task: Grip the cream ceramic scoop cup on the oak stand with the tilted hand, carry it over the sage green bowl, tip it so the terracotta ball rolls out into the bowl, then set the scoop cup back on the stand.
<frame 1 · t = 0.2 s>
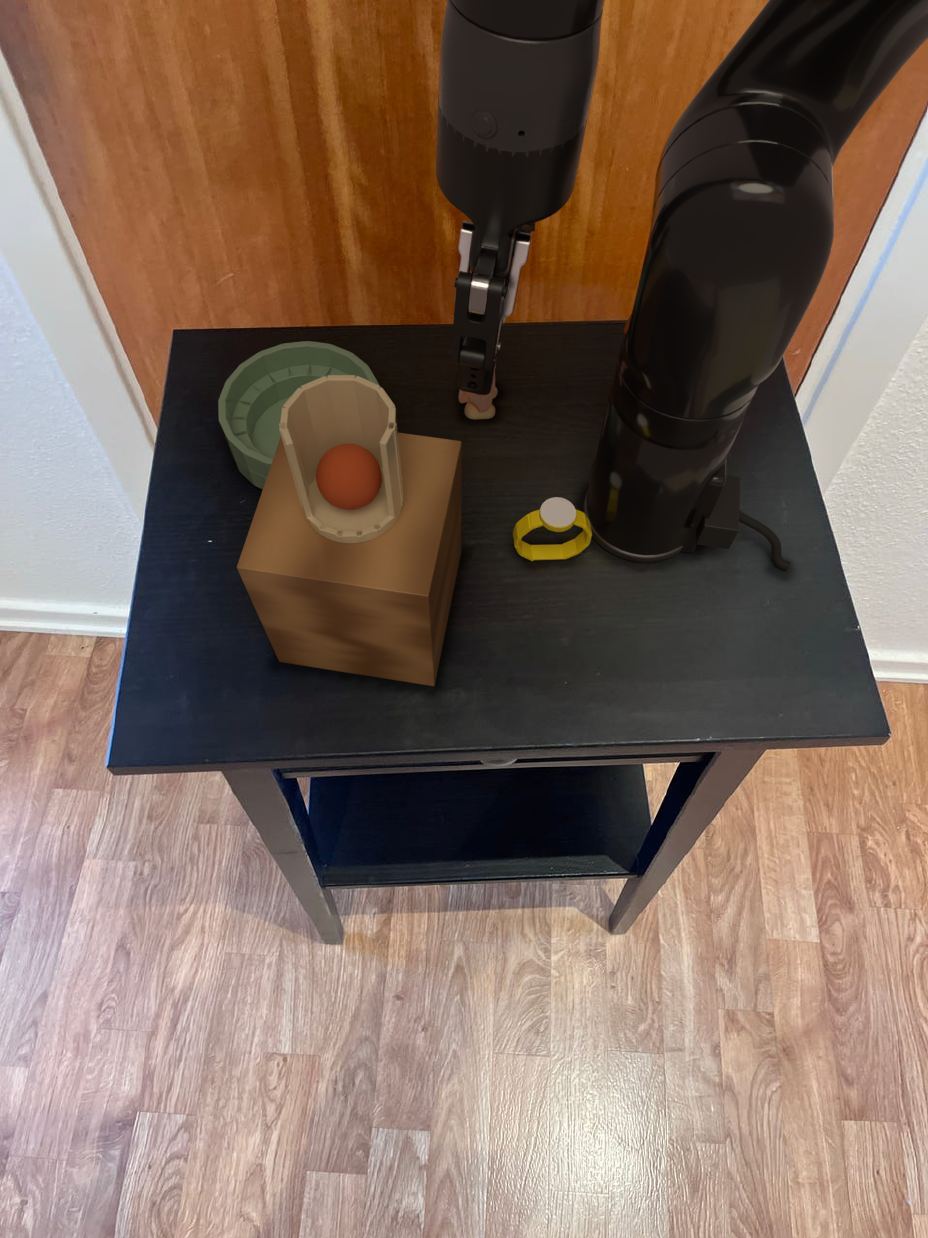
hand: (486, 341, 57), 17 cm above the table, tool pointing down, fingers open, 8 cm apart
ball: (349, 476, 53), point 17 cm above the table, touching cup
cup: (353, 501, 55), point 14 cm above the table, touching ball, stand
stand: (373, 605, 67), on the table
watch: (548, 555, 70), on the table
grandmother figurine: (479, 406, 77), on the table
bowl: (309, 440, 75), on the table
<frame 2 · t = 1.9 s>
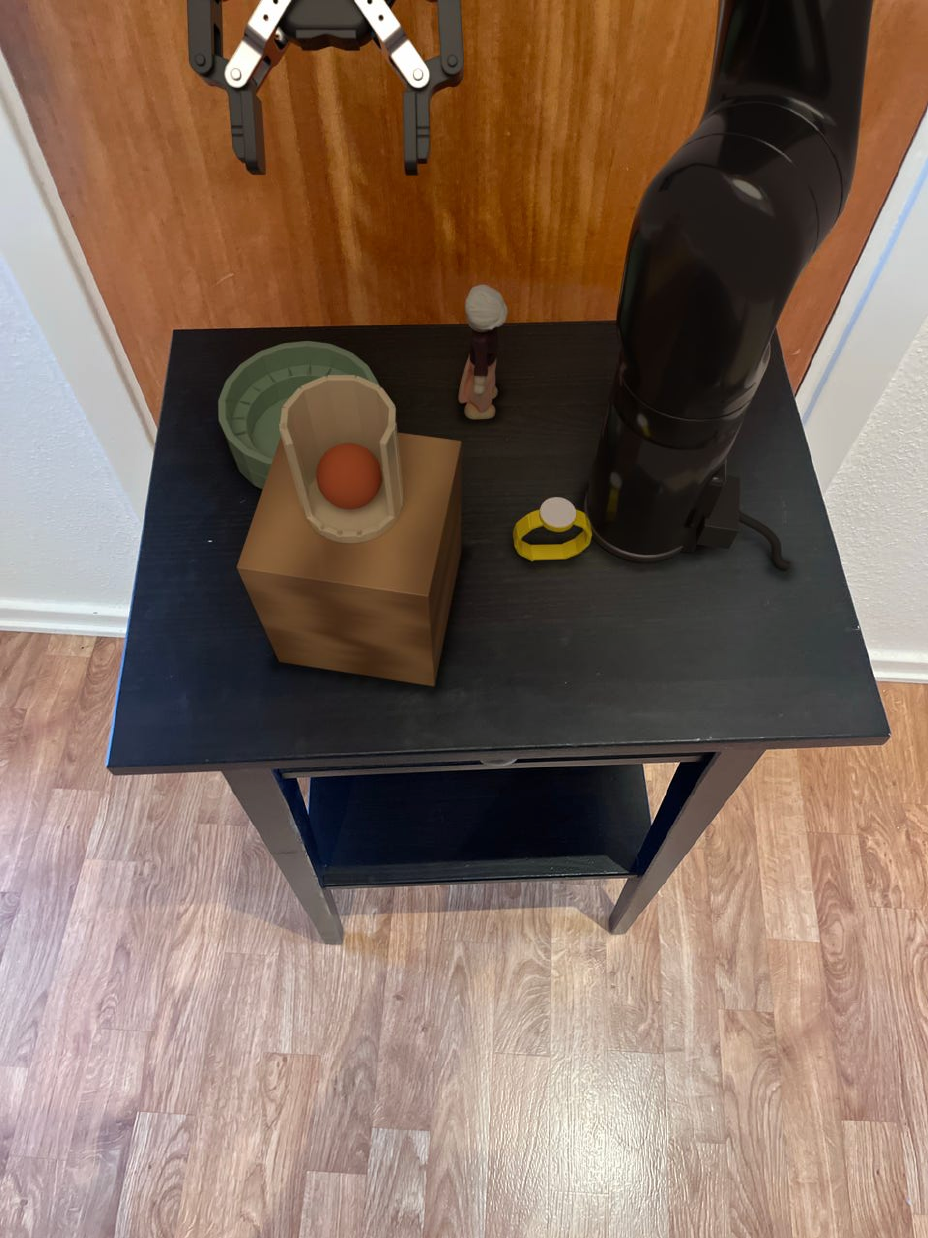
hand: (334, 173, 47), 29 cm above the table, tool tilted 45°, fingers open, 8 cm apart
nothing on the table moved.
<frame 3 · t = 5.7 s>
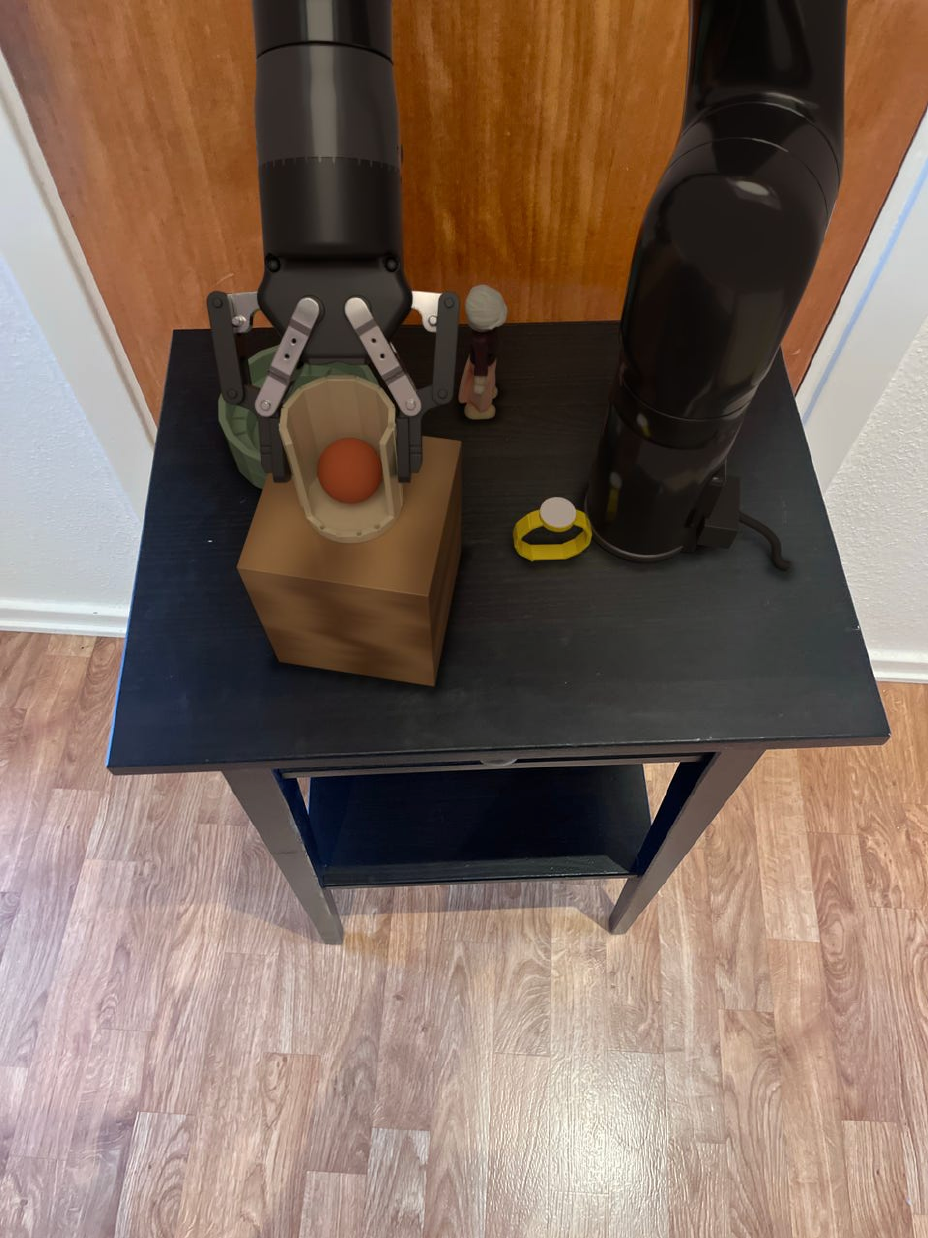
hand: (344, 480, 50), 18 cm above the table, tool tilted 45°, fingers closed on cup, 6 cm apart
ball: (350, 470, 53), point 17 cm above the table, tilted 13°, touching cup
cup: (353, 501, 55), point 14 cm above the table, touching ball, gripper, stand
everything else where it was.
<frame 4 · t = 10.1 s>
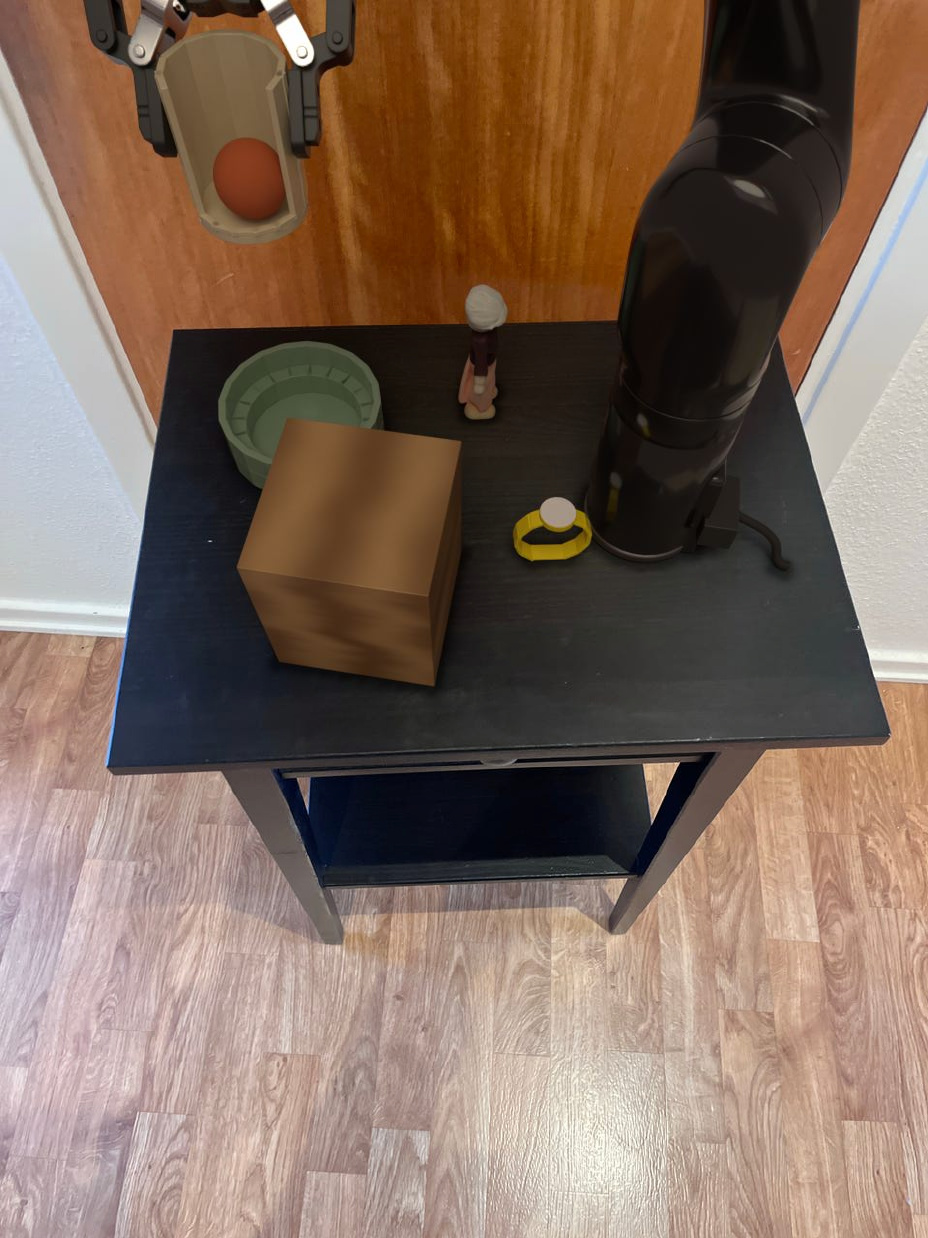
hand: (234, 154, 45), 30 cm above the table, tool tilted 45°, fingers closed on cup, 6 cm apart
ball: (250, 178, 47), point 28 cm above the table, tilted 30°, touching cup
cup: (254, 207, 50), point 26 cm above the table, touching ball, gripper
everything else where it was.
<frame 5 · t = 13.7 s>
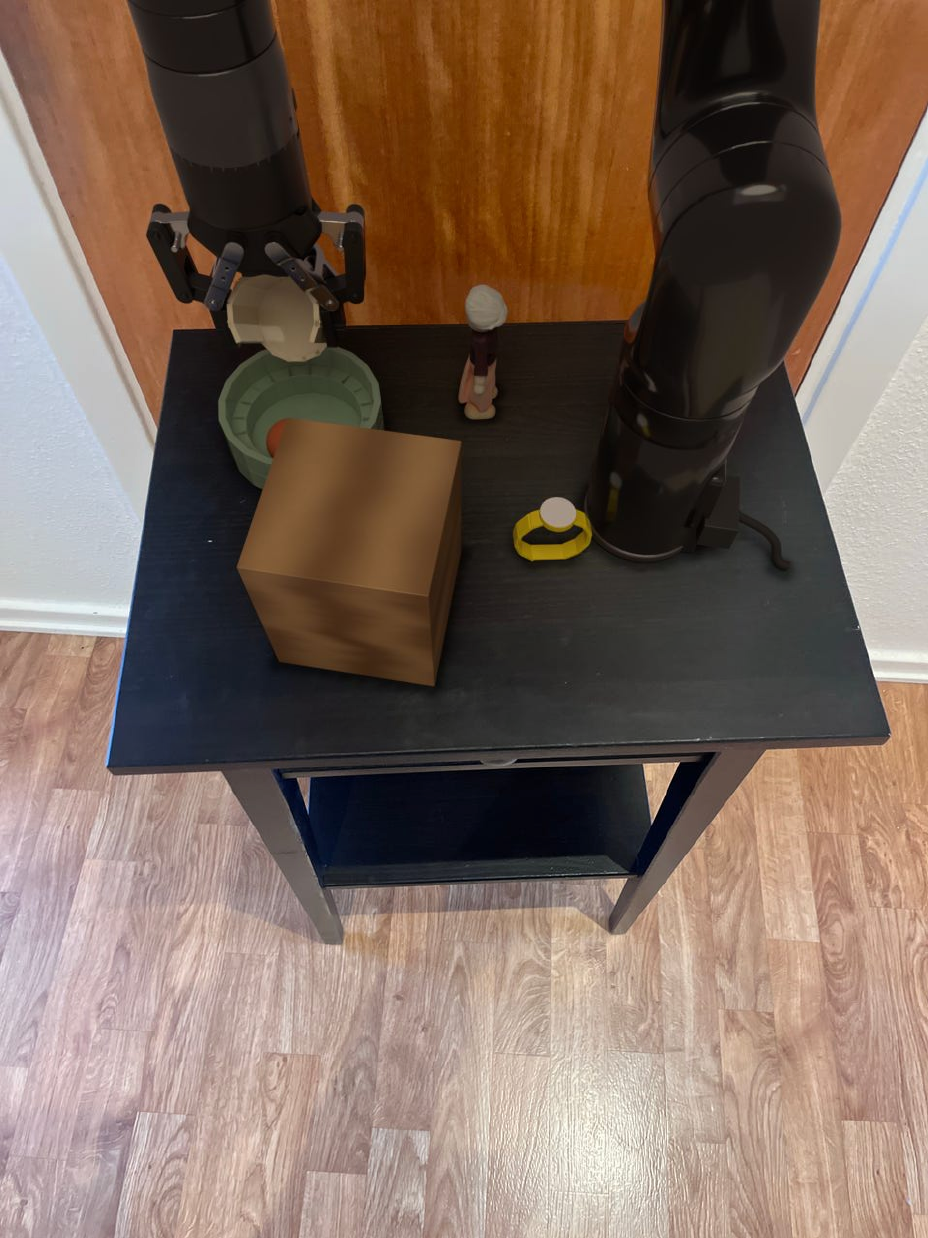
hand: (285, 338, 63), 12 cm above the table, tool pointing down, fingers closed on cup, 6 cm apart
ball: (290, 442, 71), point 3 cm above the table, tilted 105°, touching bowl
cup: (296, 318, 67), point 10 cm above the table, tilted 45°, touching gripper
everything else where it was.
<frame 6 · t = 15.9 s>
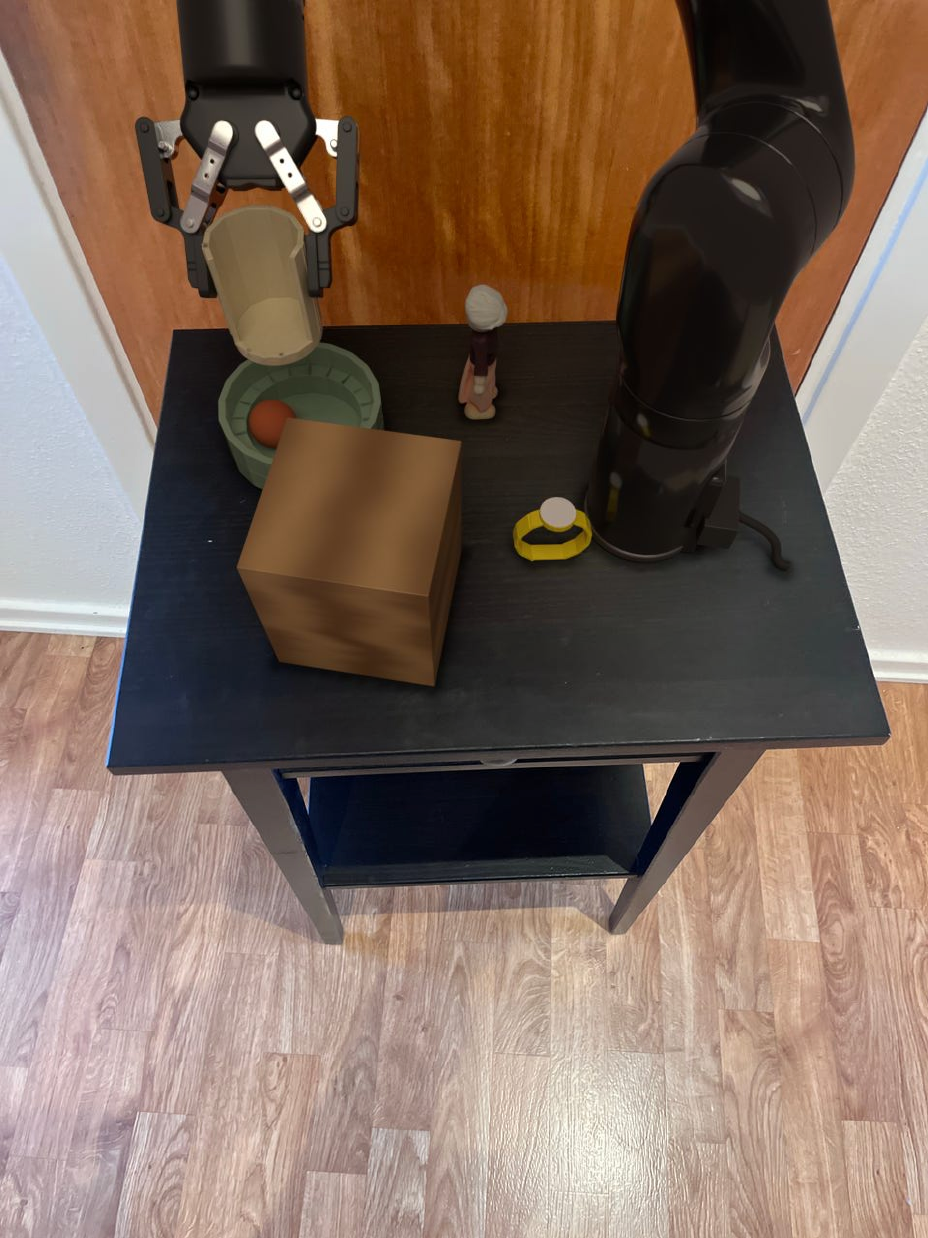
hand: (262, 296, 57), 18 cm above the table, tool tilted 45°, fingers closed on cup, 6 cm apart
ball: (273, 423, 72), point 3 cm above the table, tilted 145°, touching bowl
cup: (278, 332, 62), point 14 cm above the table, touching gripper
everything else where it was.
when the fingers open (19 cm above the table, at t = 21.6 s): cup stays where it is, resting on stand.
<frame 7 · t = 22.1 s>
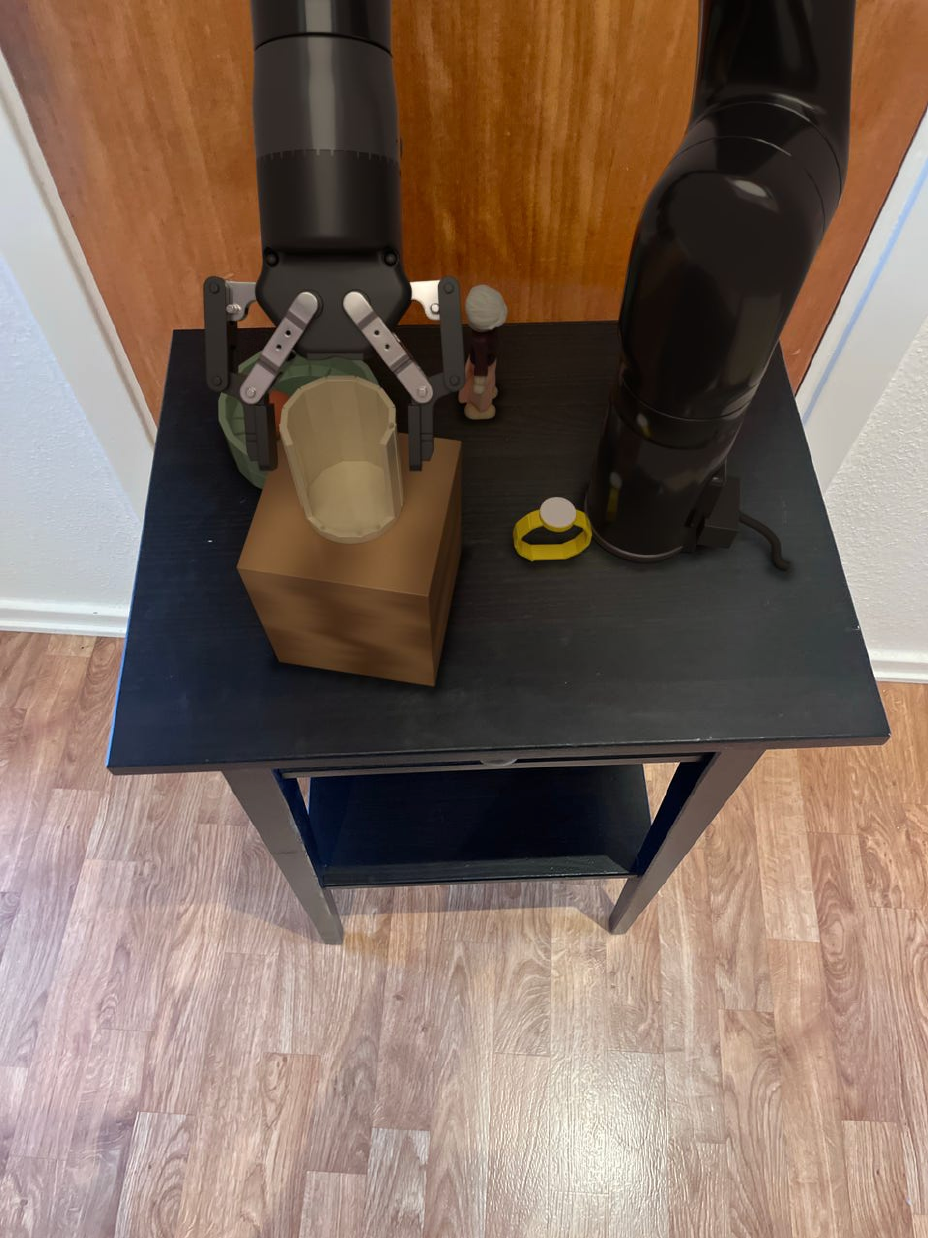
hand: (342, 469, 50), 19 cm above the table, tool tilted 45°, fingers open, 8 cm apart
ball: (274, 414, 73), point 3 cm above the table, tilted 156°, touching bowl
cup: (353, 502, 55), point 14 cm above the table, touching stand
everything else where it was.
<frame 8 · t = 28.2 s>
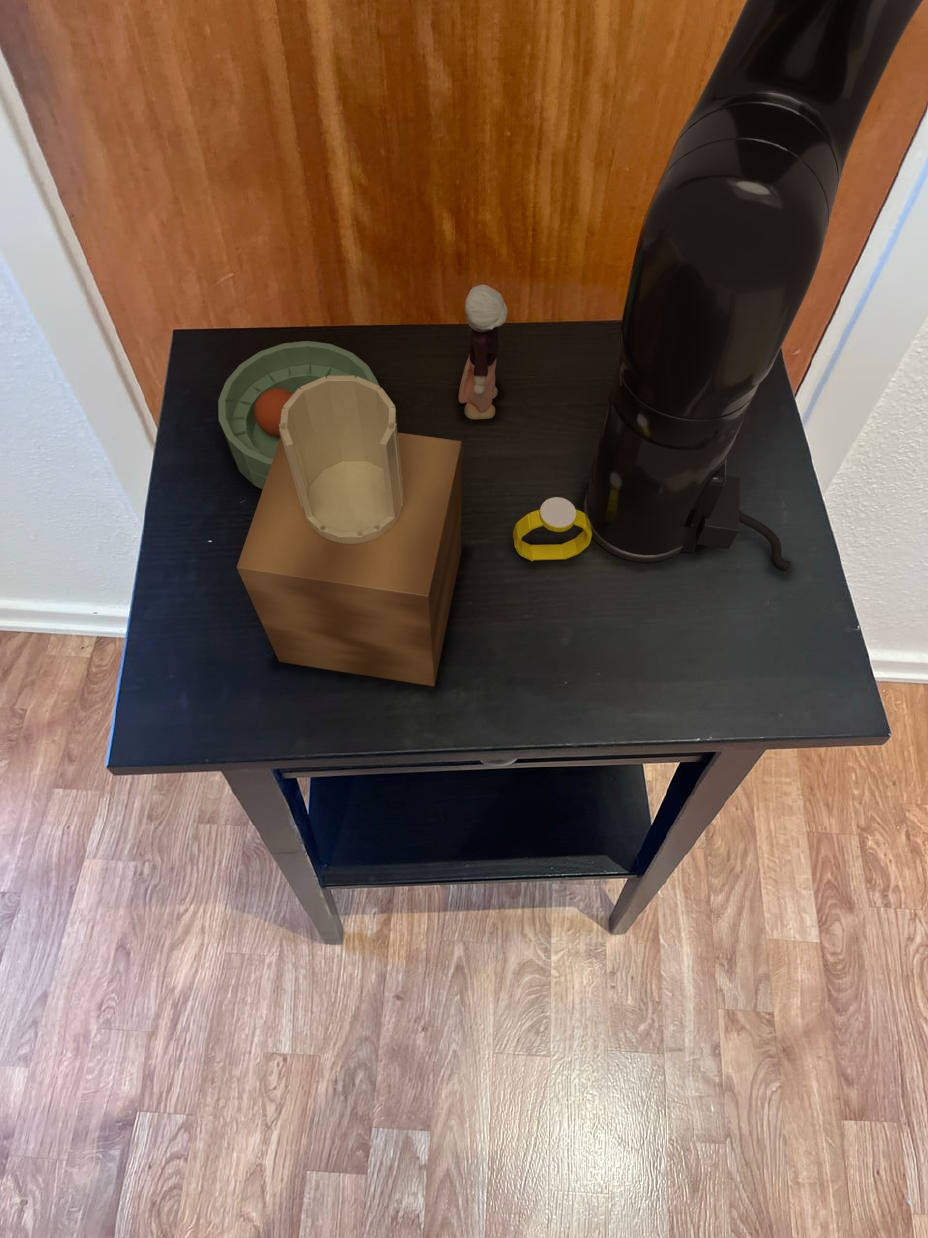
ball: (278, 412, 73), point 3 cm above the table, tilted 163°, touching bowl
everything else where it was.
at the end: ball inside the target area in the bowl (2.3 cm from its centre), point 2.6 cm above the bowl's base; cup tilted 0°; cup inside the target area on the stand (0.0 cm from its centre), point 14.0 cm above the stand's base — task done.
